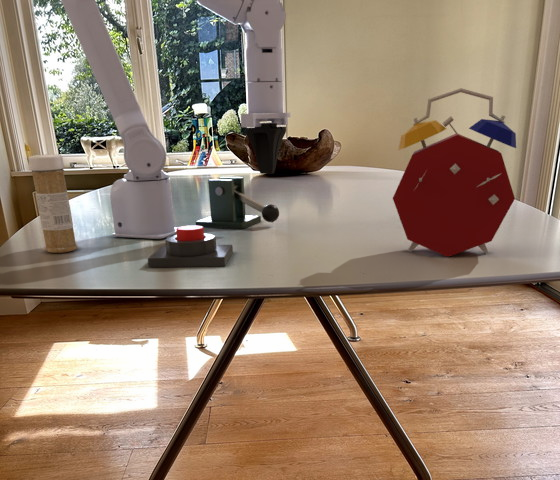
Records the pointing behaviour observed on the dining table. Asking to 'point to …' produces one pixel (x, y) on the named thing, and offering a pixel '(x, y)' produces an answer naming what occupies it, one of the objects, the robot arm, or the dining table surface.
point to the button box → (191, 253)
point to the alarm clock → (454, 184)
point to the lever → (258, 206)
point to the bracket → (227, 205)
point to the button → (190, 233)
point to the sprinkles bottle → (53, 202)
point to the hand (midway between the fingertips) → (267, 173)
